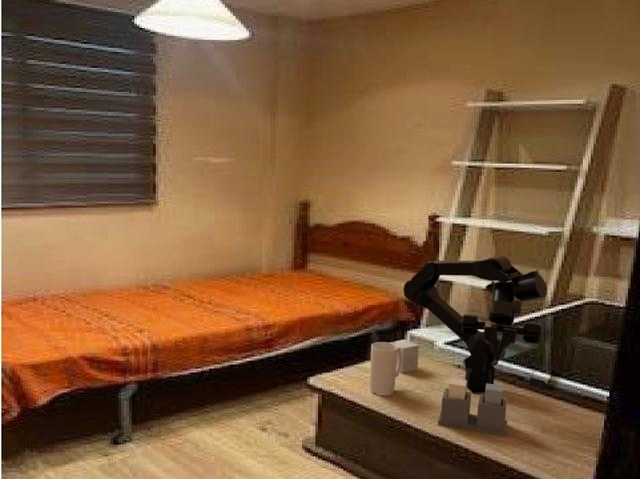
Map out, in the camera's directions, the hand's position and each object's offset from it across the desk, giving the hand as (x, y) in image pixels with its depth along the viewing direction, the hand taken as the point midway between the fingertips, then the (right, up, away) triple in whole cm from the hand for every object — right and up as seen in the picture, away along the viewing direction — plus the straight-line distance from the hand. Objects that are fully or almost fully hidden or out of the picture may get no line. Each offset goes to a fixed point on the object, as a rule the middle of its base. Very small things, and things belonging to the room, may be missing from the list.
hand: (497, 360), depth 147 cm
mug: (-25, -11, +14) cm, 30 cm away
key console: (-7, -14, -4) cm, 16 cm away
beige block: (-10, -11, -3) cm, 16 cm away
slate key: (-3, -12, -5) cm, 13 cm away
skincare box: (-18, -8, +30) cm, 36 cm away
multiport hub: (+20, -11, +27) cm, 35 cm away
